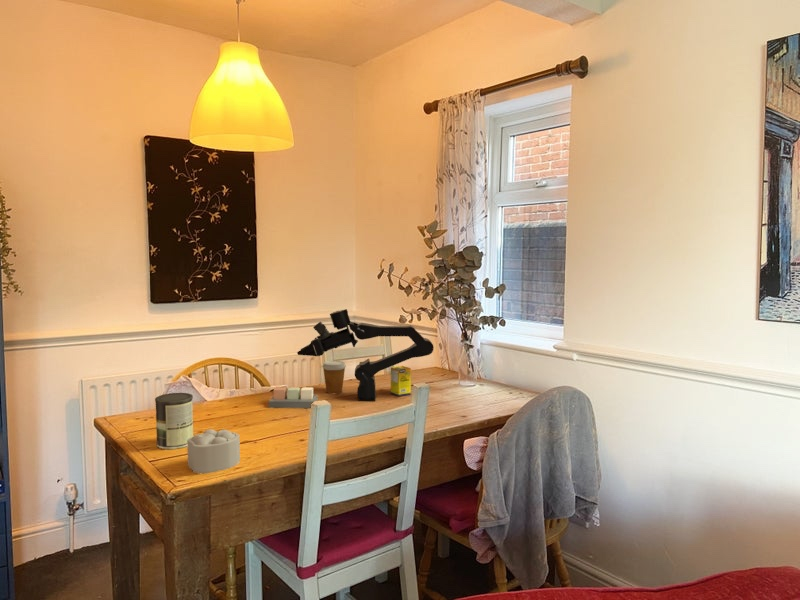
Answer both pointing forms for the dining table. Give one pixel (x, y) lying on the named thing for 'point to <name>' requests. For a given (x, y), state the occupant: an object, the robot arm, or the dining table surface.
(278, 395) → the pink cube
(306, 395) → the cream white cube
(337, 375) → the disposable coffee cup
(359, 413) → the dining table surface
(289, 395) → the key mid
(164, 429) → the coffee can
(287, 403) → the keypad base
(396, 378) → the supplement box
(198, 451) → the lumpy-topped squat cylinder
